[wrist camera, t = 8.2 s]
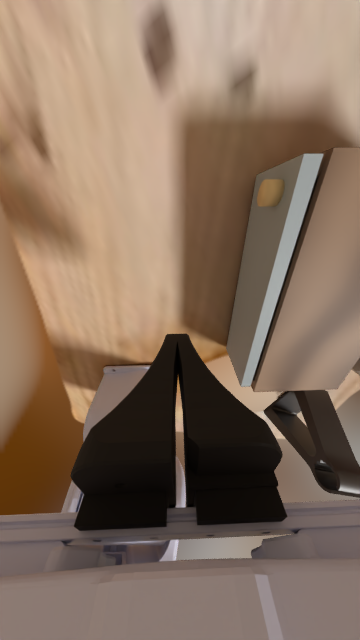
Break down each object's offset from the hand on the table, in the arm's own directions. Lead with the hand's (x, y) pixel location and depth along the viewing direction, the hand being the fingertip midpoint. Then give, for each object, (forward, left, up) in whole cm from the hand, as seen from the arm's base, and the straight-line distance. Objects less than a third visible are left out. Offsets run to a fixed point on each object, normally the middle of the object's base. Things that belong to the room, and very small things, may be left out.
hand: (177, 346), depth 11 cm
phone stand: (+20, -21, -10) cm, 31 cm away
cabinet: (+12, 0, -9) cm, 16 cm away
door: (+7, +1, -9) cm, 11 cm away
